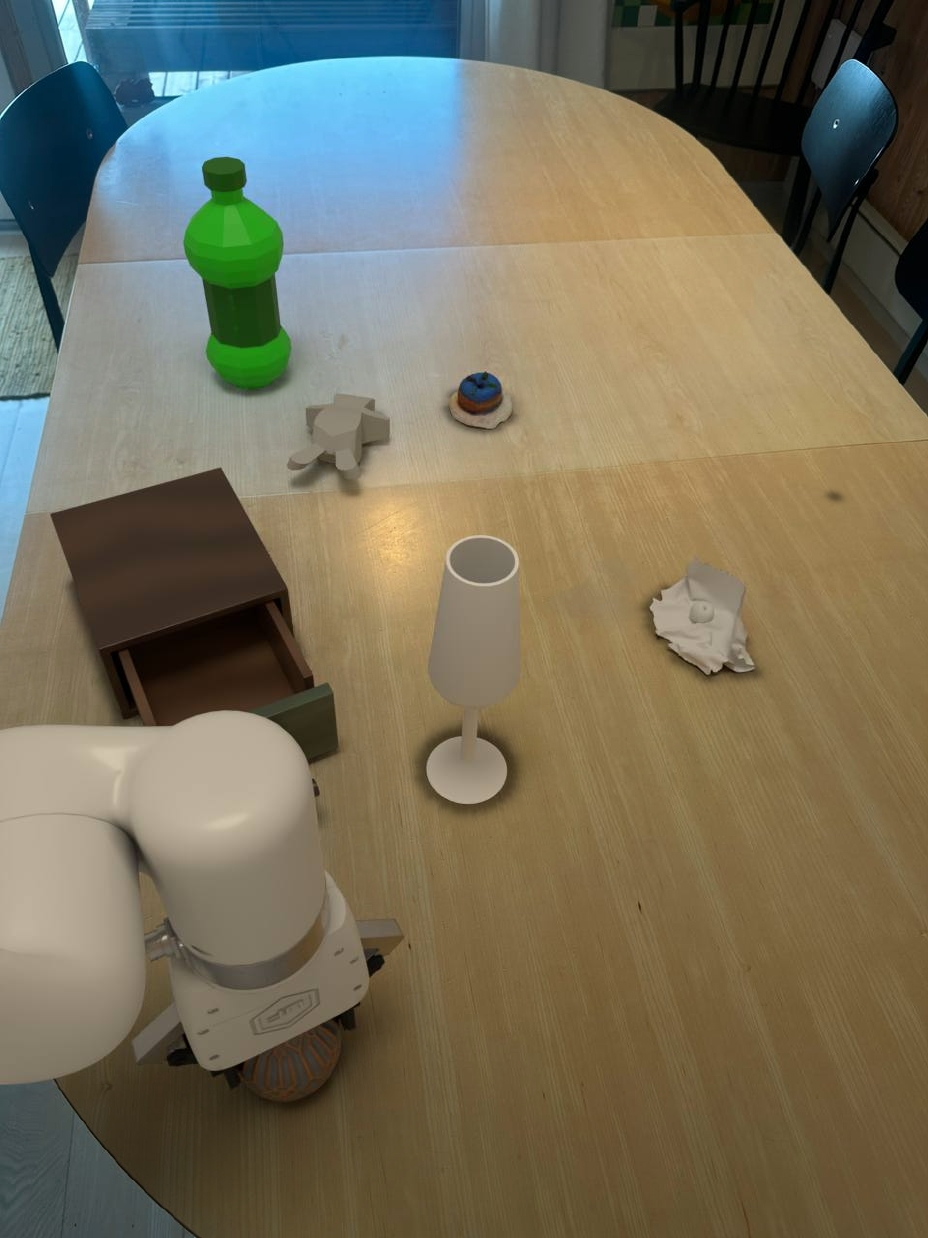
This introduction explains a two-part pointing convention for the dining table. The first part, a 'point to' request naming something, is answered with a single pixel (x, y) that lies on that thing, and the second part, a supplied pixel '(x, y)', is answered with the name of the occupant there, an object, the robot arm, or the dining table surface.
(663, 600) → the fabric
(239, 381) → the plastic bottle
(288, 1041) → the vase
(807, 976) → the dining table surface
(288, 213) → the dining table surface
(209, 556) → the cabinet
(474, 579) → the champagne flute
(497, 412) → the dessert
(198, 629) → the drawer
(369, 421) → the bunny figurine
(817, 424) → the dining table surface
